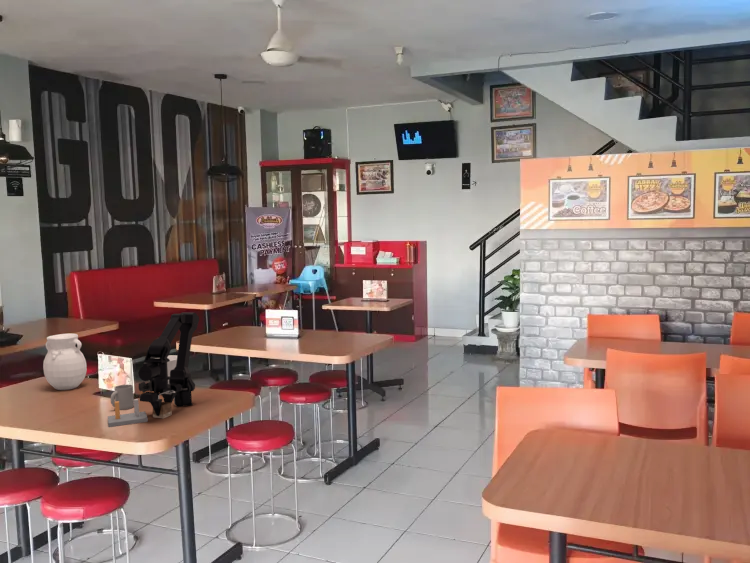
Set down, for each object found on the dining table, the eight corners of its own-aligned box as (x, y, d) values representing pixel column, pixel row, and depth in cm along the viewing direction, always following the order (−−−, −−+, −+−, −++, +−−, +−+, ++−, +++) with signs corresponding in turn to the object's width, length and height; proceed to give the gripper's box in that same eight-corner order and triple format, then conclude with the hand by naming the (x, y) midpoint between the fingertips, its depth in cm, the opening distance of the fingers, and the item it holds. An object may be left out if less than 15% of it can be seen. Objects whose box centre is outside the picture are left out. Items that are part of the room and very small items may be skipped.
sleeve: (161, 413, 263) (160, 401, 262) (171, 414, 261) (171, 402, 261) (153, 417, 258) (152, 404, 258) (163, 418, 256) (162, 405, 256)
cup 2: (158, 390, 301) (157, 355, 300) (185, 388, 303) (183, 354, 301) (153, 396, 290) (151, 361, 288) (180, 395, 291) (178, 360, 289)
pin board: (145, 415, 262) (144, 395, 261) (147, 421, 253) (146, 401, 252) (107, 420, 256) (106, 400, 255) (108, 427, 247) (107, 406, 246)
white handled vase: (35, 392, 302) (31, 339, 300) (61, 382, 320) (57, 332, 318) (72, 393, 299) (68, 339, 297) (95, 383, 317) (92, 332, 315)
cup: (137, 406, 275) (136, 385, 274) (117, 412, 266) (115, 391, 265) (126, 404, 278) (125, 383, 278) (106, 410, 270) (104, 389, 269)
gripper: (159, 368, 270) (161, 405, 271) (127, 379, 252) (129, 418, 254) (181, 370, 266) (183, 407, 267) (150, 381, 248) (152, 421, 250)
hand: (162, 413), depth 260 cm, fingers closed on sleeve, 5 cm apart
